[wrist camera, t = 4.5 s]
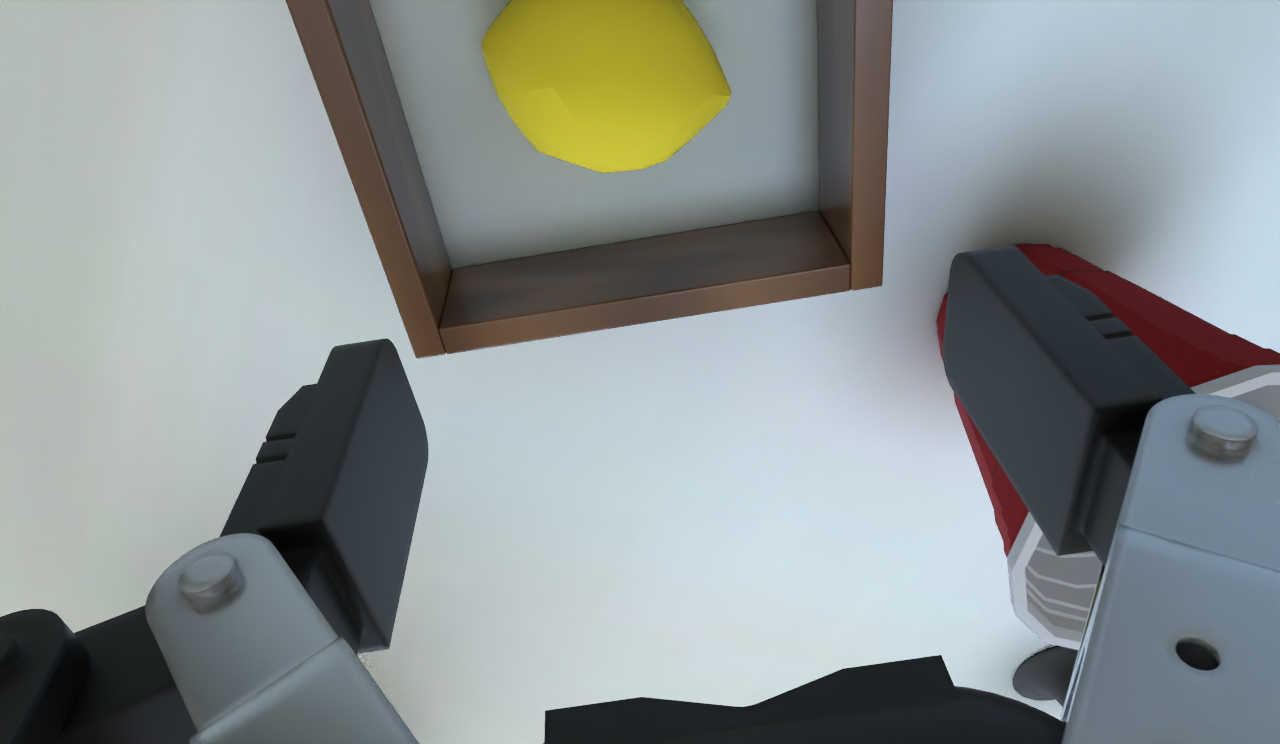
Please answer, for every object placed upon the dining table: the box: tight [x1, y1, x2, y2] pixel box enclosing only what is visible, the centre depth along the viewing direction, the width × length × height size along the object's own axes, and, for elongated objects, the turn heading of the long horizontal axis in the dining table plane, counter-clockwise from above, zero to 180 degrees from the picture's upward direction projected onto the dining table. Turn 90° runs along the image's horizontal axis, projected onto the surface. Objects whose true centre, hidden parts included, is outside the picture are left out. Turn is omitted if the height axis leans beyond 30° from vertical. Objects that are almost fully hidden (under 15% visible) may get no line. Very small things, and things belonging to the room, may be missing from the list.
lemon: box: [481, 0, 731, 173], centre depth 23 cm, size 7×5×5 cm
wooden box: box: [286, 0, 893, 358], centre depth 23 cm, size 15×15×4 cm
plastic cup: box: [936, 244, 1280, 650], centre depth 27 cm, size 11×11×12 cm
